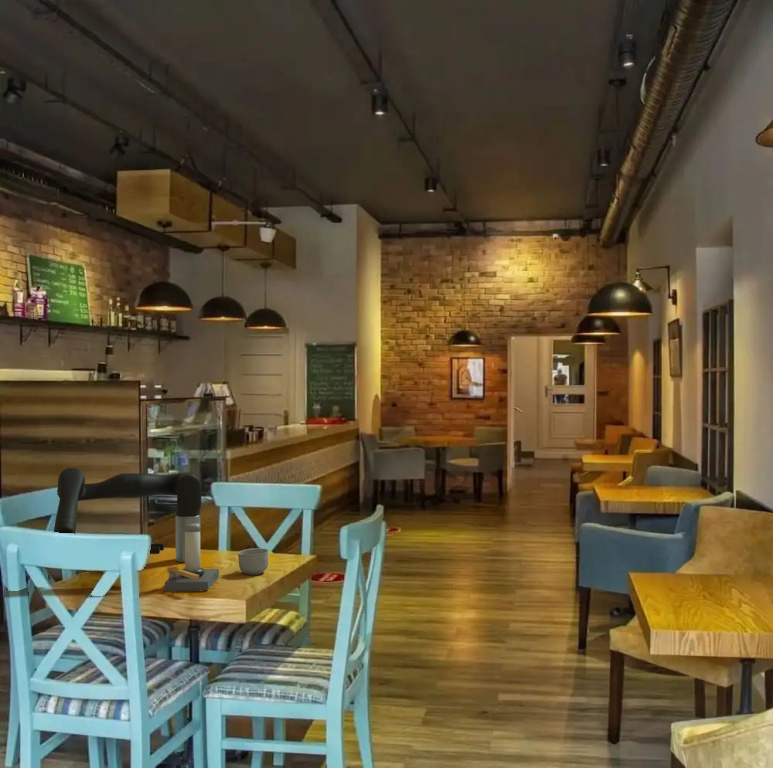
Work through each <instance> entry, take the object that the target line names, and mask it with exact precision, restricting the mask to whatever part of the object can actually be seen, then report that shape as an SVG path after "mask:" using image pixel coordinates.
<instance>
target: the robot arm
mask: <svg viewBox="0 0 773 768" xmlns="http://www.w3.org/2000/svg"><path fill="white" fill-rule="evenodd" d="M85 482H86V477H85V474H84V472H83V471H82V470H81V469H79V468H77V467H67V468H65V469H63V470H62V471H61V472H60V473H59V475H58V478H57V491H56V493H57V496H58V498H59V499H58V500H59V501H58V507H57V511H56V514H55V515H56V516H55V521H54V527H53V533H54V532H59V533H74V534H75V535H76V529H77V523H78V522H77V521H78V507H79V505H78V504H79V502H80V501H88V500H89V501H91V500H98V499H100V500H101V499H139V498H146V497H151V496H156V495H174V496H175V495H176V507H175V562H177V563H178V562H180V563H185V525H186V524H200V525H201V510H202V509H201V508H202V499H203V498H202V497H203V496H202V494H203V492H202V490H203V489H202V488H203V487H202V482H201V480H200V478H199V477H198V476H197V475H195V474H193V473H190V472H182V473H181V472H180V473H179V472H178V473H173V474H172V473H171V474H170V473H169V474H154V473H153V474H152V473H139V472H138V473H135V472H134V473H133V472H132V473H131V472H130V473H129V472H126V473H125V472H124V473H119V474H117V475H114V476H112V477H109V478H108V479H107V478H106V479H104V480H103V481H99V482H95V483H94V482H93V483H85ZM164 550H165V544H164V543H154V542H152V543H151V550H150V554H149V555H159V554H160V553H161V551H164Z"/></svg>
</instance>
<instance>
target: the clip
mask: <svg viewBox="0 0 773 768" xmlns="http://www.w3.org/2000/svg"><path fill="white" fill-rule="evenodd" d="M181 569H182V568H178V566H168V567H167V569H166V571H167V573H169V572H173V573H176V574H179V575H182V576H185V577H188V578H191V579H194V580H195V579H199V575H197V574H194V573H191V572H188V571H184V570H181Z"/></svg>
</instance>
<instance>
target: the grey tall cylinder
mask: <svg viewBox="0 0 773 768" xmlns="http://www.w3.org/2000/svg"><path fill="white" fill-rule="evenodd" d="M181 569H182V570H184V571H188V572H191V573H194V574H197V575H199V577H200V574H201V573H204V569H205V568H204V567H201V523H200V524H186V525H185V562H184V568H181Z"/></svg>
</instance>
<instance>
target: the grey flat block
mask: <svg viewBox="0 0 773 768" xmlns="http://www.w3.org/2000/svg"><path fill="white" fill-rule="evenodd" d="M180 569H181V570H182V569H183V568H180ZM218 577H220V569H219V568H204V573H201V574H200V577H199V579H195V580H194V579H191V578H188V577H185V576H182V575H179V574H176V573H173V572H168V578H167V580H165V582H164V592H201V591H200V590H209V591H210V589H211V588H212V587H213V585H214V584H215V583H216V582H217V580H218V579H219V578H218ZM215 581H216V582H215ZM214 582H215V583H214ZM213 583H214V584H213ZM211 586H212V587H211ZM210 587H211V588H210ZM209 588H210V589H209Z"/></svg>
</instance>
